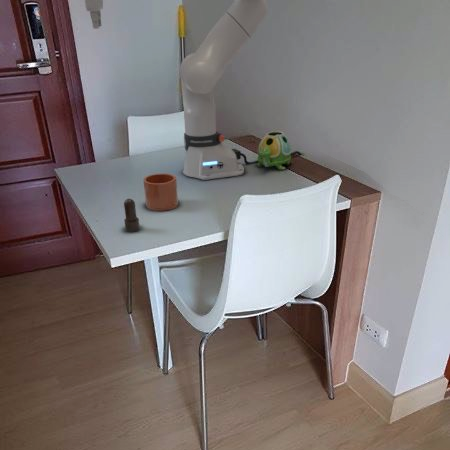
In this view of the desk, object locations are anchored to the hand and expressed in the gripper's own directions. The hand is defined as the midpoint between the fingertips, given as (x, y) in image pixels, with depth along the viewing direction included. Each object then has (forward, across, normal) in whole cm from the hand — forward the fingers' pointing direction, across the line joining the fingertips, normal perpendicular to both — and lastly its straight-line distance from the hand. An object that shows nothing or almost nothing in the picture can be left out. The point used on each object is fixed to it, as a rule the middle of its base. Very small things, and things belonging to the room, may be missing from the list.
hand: (97, 27), depth 152 cm
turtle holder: (+48, +1, -58) cm, 75 cm away
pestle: (+48, -47, -6) cm, 67 cm away
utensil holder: (+48, -30, -15) cm, 58 cm away
